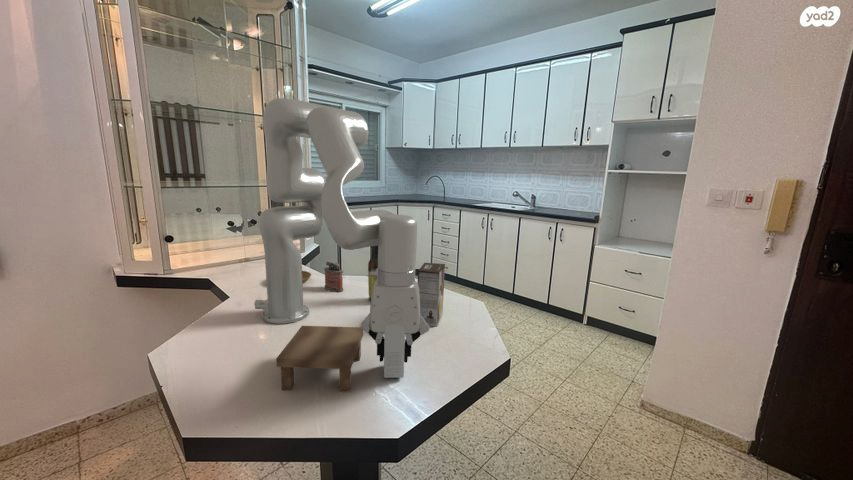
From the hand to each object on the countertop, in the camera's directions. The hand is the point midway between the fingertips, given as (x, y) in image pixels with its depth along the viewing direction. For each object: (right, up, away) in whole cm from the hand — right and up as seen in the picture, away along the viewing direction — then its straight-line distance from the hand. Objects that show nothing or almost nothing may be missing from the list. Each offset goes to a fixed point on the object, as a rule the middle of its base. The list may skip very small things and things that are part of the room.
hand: (394, 357), depth 73 cm
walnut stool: (-15, -3, 0) cm, 15 cm away
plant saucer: (-44, +9, +57) cm, 72 cm away
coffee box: (+8, +1, +28) cm, 29 cm away
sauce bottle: (-9, +5, +40) cm, 42 cm away
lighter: (-26, +7, +50) cm, 57 cm away
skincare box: (0, -3, +1) cm, 3 cm away
